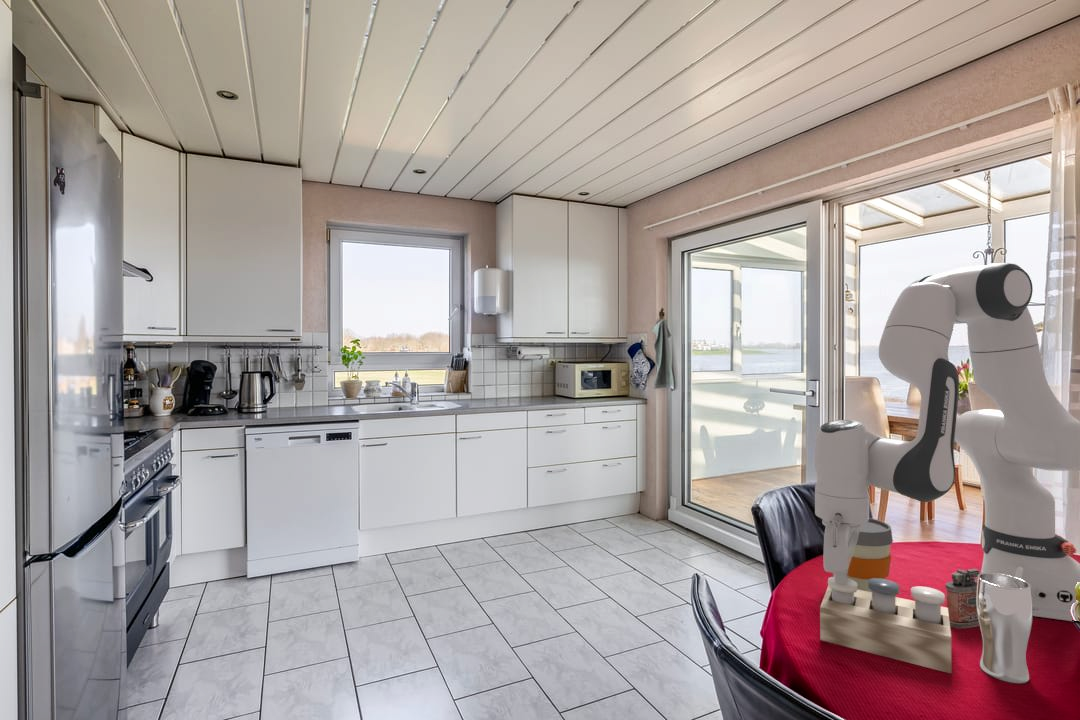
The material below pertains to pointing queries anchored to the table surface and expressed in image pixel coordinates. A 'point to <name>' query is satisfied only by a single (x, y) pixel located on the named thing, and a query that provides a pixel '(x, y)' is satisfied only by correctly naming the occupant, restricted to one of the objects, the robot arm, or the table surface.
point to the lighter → (962, 599)
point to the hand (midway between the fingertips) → (841, 581)
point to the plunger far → (843, 591)
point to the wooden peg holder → (887, 631)
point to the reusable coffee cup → (871, 554)
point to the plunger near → (928, 604)
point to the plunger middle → (883, 595)
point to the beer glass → (1004, 625)
